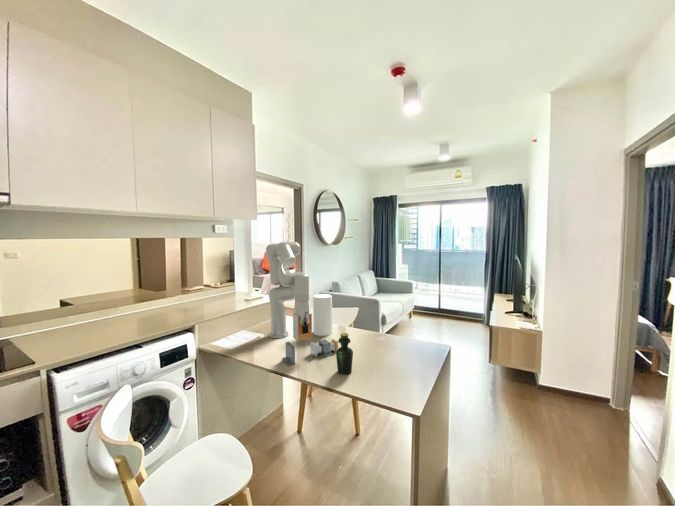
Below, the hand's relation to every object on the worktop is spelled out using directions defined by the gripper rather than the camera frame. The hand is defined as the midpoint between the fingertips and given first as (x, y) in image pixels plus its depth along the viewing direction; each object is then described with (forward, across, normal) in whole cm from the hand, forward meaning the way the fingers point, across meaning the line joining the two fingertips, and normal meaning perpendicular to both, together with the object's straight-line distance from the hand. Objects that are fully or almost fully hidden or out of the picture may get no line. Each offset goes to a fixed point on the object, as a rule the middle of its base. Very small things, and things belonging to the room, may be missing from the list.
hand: (302, 330), depth 149 cm
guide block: (+15, 0, +13) cm, 20 cm away
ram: (+14, 0, +13) cm, 19 cm away
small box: (+4, 0, 0) cm, 4 cm away
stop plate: (+15, 0, -7) cm, 16 cm away
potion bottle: (+15, +24, +11) cm, 30 cm away
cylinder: (+15, -30, +28) cm, 44 cm away
